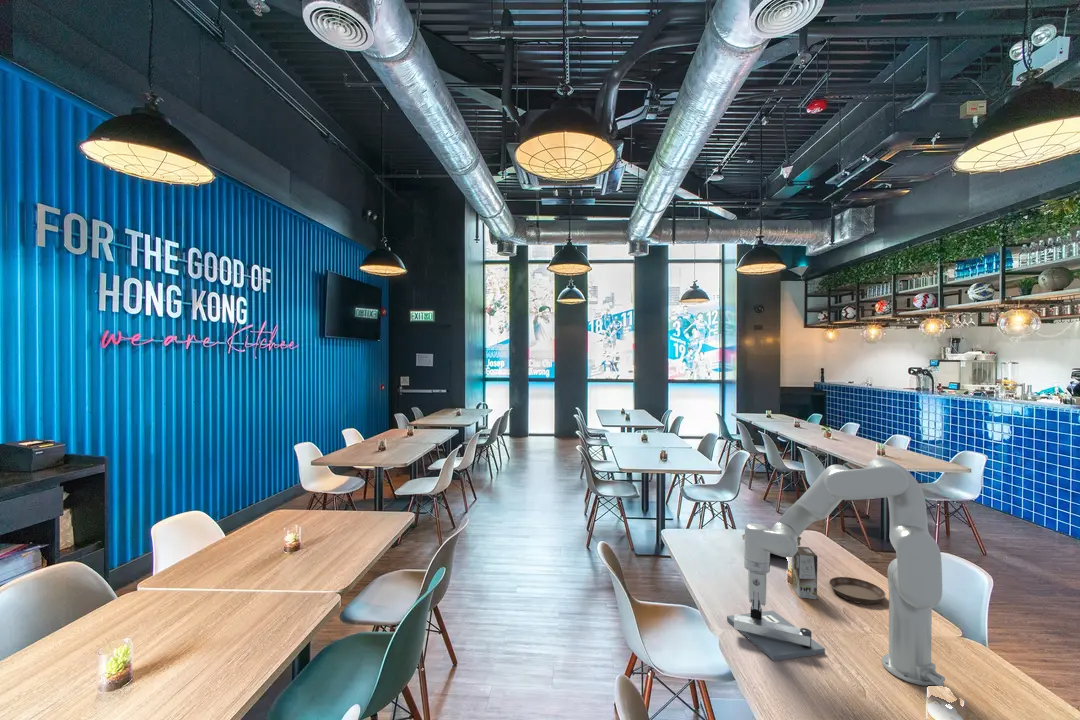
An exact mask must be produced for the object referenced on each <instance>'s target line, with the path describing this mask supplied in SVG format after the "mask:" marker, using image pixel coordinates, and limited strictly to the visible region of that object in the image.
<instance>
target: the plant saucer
mask: <svg viewBox="0 0 1080 720" xmlns="http://www.w3.org/2000/svg"><path fill="white" fill-rule="evenodd" d="M828 583H829V586H830V587H831V588H832V590H833V591H834V592H835V593H836V594H837V595H838V596H839V597H841V598H843V599H846V600H849V601H851V602H855V603H859V604H864V605H874V604H877V603H880V602H881V601H882V600H883V599H884V598H886V592H885V591H884V590H883V588H881V587H879V586H878V585H876V584H874V583H872V582H869V581H867V580H863V579H860V578H855V577H849V576H835V577H832V578H831V579H829V580H828Z"/></svg>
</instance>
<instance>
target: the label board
mask: <svg viewBox="0 0 1080 720" xmlns="http://www.w3.org/2000/svg"><path fill="white" fill-rule="evenodd" d="M734 615H735V614H733V615H727V616H726V621H727V622H728V623H729V624H731V625H732V626H733V627H734ZM738 615H742V616H747V617H751V612H749V613H741V614H738ZM762 620H765V621H769V622H774V623H778V624H783V625H787V626H792V627H796V626H795V625H794V624H792V623H791V622H789V621H788V620H786V618H784V617H783V616H781V615H780V614H778V613H777V612H776V611H775V610H773V609H772V610H762ZM738 632H740V634H742V633H743V634H744V635H745V636H746V637H747V638H746V637H745V636H744V635H743V634H742V635H743V636H744V637H745V638H746V639H748V638H749V639H750V640H751V641H752V642H753V643H754V644H755V645H754V644H753V643H752V642H751V641H750V640H749V639H748V640H749V641H750V642H751V643H752V644H753V645H754V646H756V645H757V646H758V647H759V648H760V649H761V650H762V651H763V652H762V653H763V654H765V653H766V654H767V655H768V656H769V657H770V658H771V661H773V662H775V661H774V660H778V661H783V659H784V660H788V659H789V660H790V659H795V658H802V657H809V656H816V655H823V654H826V648H825V647H824V646H823V645H821V644H820V643H818V642H817V641H816V640H814V639H813V638H811V648H804V647H802V646H801V645H800V644H797V643H793V642H788V641H784V640H780V639H776V638H771V637H767V636H763V635H758V634H754V633H750V632H746V631H741V630H739V631H738ZM757 646H756V647H757ZM758 647H757V648H758ZM759 648H758V649H759ZM760 649H759V650H760ZM761 650H760V651H761ZM766 654H765V655H766ZM767 655H766V656H767ZM768 656H767V657H768ZM769 657H768V658H769ZM770 658H769V659H770Z"/></svg>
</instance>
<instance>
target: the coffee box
mask: <svg viewBox="0 0 1080 720" xmlns="http://www.w3.org/2000/svg"><path fill="white" fill-rule="evenodd" d="M818 558H819V556H818V555H817V554H816V553H815V552H814V551H813V550H812V549H811V548H810V547H808V546H798V550H797V553H796V554H795V555H794V556H792V559H791V588H792V590H793V591H794V592H795V594H796V595H797V596H798V598H801V599H809V600H817V599H818Z"/></svg>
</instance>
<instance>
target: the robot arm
mask: <svg viewBox="0 0 1080 720" xmlns="http://www.w3.org/2000/svg"><path fill="white" fill-rule="evenodd" d="M882 498H887V502H888V512H889V535H888V536H889V538H888V539H889V541H890V544H891V545H892V547H893V548H894V551H895V554H896V558H894V559H893V560H891V562H890V563H889V564H888V567H887V583H888V585H887V586H888V653H885V654H884V655H883V656H882V658H881V664H882V666H883V667H884V668H885V669H886V671H888V672H889V673H890V674H891V675H893V676H895V677H896V678H899V679H901V680H904V681H905V682H908V683H910V684H914V685H919V686H924V687H925V686H926V687H929V686H928V685H932V686H936V687H939V686H942V687H943V686H944V682H945V680H946V678H945V676H943V674H940V673H938V672H937V671H936V664H934V663H933V662H932V641H933V640H932V637H933V636H932V633H933V629H932V628H933V627H932V624H933V613H932V612H933V611H932V610H933V608H936V607H937V606H938V605H939V604H940V602H941V601H942V596H943V566H942V565H943V564H942V554H941V550H940V549H941V548H940V546H939V544H938V543H937V541H936V540H935V539H934V538H933V536H932V535H931V534H930V531H929V526H928V525H929V523H928V514H927V512H928V511H927V504H926V498H925V494H924V491H923V489H922V487H921V485H920V484H919V482H918V481H917V479H916V478H915V477H914V475H912V473H911V472H910V471H908V470H907V469H906V468H905V467H903V466H902V465H901V464H899V463H897V462H895V461H892V460H891V459H888V458H882V457H879V458H878V457H877V458H874V459H871V460H870V461H869V462H868V463H867V465H866V467H865V468H856V469H855V468H854V469H852V468H851V469H850V468H848V467H846V466H845V465H842V464H832V465H829V466H827V467H826V468H825V469H824V470H823V471H822V472H821V473H820V474H819V476H818V477H817V478H816V479H815V480H814V481H813V483H812V484H811V485H810V486H809V488H808V489H807V490H805V492H804V493H803V494H802V495H801V496H800V497H799V499H797V500H796V501H795V502H794V503H793V504H792V505H791V506H790V507H788V509H786V511H785V512H784V513H783V514H782V515H781V516H780V517H779V519H778V520H777V521H776V522H775V523H774V525H773V526H772V528H771V529H769V527H768V526H766V525H764V524H760V523H749V524H746V525H745V527H744V534H745V540H744V547H743V548H744V553H743V556H744V558H743V559H744V560H743V562H744V563H743V566H744V568H745V570H747V584H748V585H747V588H748V589H747V590H748V591H747V592H748V602H749V603H750V604H751V606H750V613H751V618H756V619H760V620H762V612H763V608H762V606H763V607H766V605H767V574H769V573H770V571H771V569H770V568H771V554H772V553H773V555H776V556H779V557H781V556H782V557H792V556H794V555H795V554H796V553H797V550H798V547H799V546H798V543H797V538H798V537H801V535H802V534H803V532H805V530H807V528H808V527H809V526H810V525H812V524H813V523H815V522H817V521H823V520H825V519H826V518H828V517H829V515H831V514H832V512H833V511H834V510H835V509H836V508H837V507H838V506H839V504H840V503H841V502H842V501H843V500H844V501H845V500H846V501H855V500H856V501H857V500H869V499H870V500H871V499H882ZM770 530H771V531H770ZM770 553H771V554H770ZM782 557H781V558H782Z"/></svg>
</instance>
